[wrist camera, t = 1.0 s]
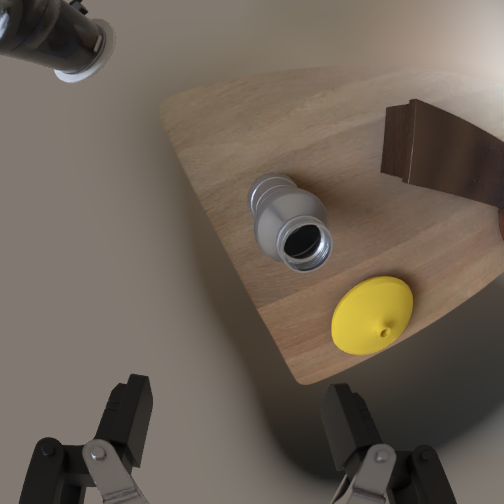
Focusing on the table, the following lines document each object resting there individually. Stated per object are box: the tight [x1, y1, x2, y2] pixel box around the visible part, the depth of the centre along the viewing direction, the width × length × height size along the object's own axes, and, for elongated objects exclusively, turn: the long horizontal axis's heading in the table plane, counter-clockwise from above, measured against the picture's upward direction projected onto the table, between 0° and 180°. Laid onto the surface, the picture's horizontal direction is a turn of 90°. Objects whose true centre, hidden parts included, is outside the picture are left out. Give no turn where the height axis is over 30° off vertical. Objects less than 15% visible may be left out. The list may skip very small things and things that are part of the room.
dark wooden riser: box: [380, 99, 504, 209], centre depth 27 cm, size 24×11×18 cm, turn 86°
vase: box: [332, 276, 413, 355], centre depth 42 cm, size 16×16×7 cm
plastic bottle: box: [248, 173, 333, 273], centre depth 28 cm, size 6×7×20 cm
